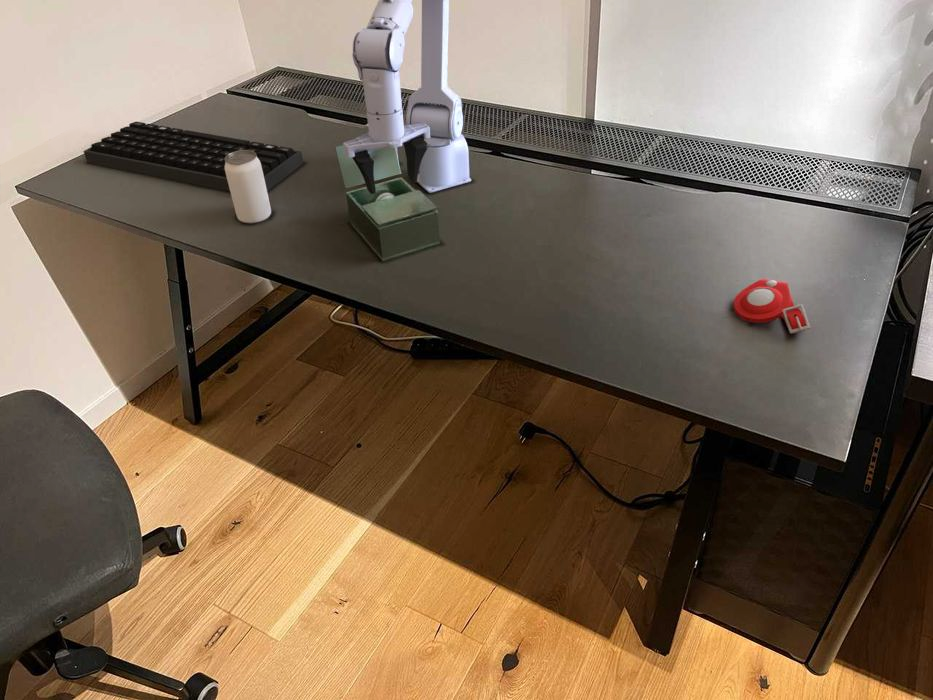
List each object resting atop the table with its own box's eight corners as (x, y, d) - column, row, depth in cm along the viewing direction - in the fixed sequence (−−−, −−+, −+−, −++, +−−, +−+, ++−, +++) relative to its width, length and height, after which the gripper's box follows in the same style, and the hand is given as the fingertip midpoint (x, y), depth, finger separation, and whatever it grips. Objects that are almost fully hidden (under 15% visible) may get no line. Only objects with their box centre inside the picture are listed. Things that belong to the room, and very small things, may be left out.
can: (263, 225, 141) (249, 165, 134) (231, 223, 143) (215, 163, 135) (277, 208, 146) (264, 149, 139) (245, 206, 147) (231, 147, 140)
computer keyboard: (303, 163, 161) (300, 146, 159) (258, 197, 150) (254, 179, 148) (139, 133, 176) (134, 117, 174) (87, 162, 165) (81, 146, 163)
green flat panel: (345, 188, 136) (345, 188, 136) (401, 173, 140) (400, 173, 140) (335, 147, 133) (334, 147, 134) (391, 133, 137) (391, 133, 138)
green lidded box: (350, 223, 141) (345, 188, 136) (404, 208, 145) (401, 173, 140) (382, 261, 130) (378, 224, 126) (440, 244, 134) (437, 207, 130)
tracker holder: (722, 310, 115) (749, 267, 119) (726, 331, 117) (752, 288, 122) (804, 324, 107) (830, 278, 111) (807, 346, 110) (832, 300, 114)
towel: (369, 203, 139) (382, 219, 142) (382, 216, 135) (394, 232, 138) (388, 187, 139) (400, 204, 142) (401, 199, 135) (413, 216, 139)
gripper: (350, 126, 116) (361, 206, 124) (436, 106, 121) (440, 184, 129) (334, 111, 121) (345, 189, 129) (417, 92, 126) (423, 168, 134)
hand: (392, 186), depth 130 cm, fingers open, 7 cm apart
